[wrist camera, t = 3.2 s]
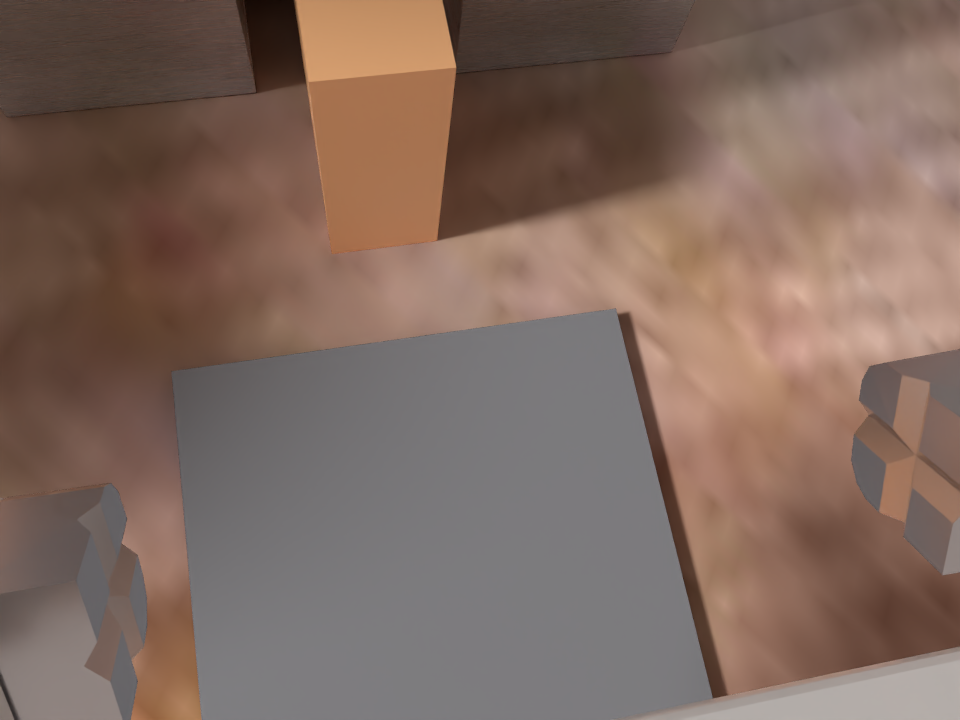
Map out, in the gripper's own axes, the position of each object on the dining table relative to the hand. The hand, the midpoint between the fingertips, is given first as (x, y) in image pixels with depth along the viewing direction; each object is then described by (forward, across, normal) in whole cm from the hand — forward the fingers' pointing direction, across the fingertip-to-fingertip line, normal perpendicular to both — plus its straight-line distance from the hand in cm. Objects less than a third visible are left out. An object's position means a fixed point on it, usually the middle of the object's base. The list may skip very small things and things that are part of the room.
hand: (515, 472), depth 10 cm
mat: (+10, 0, +10) cm, 14 cm away
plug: (+21, 0, -1) cm, 21 cm away
